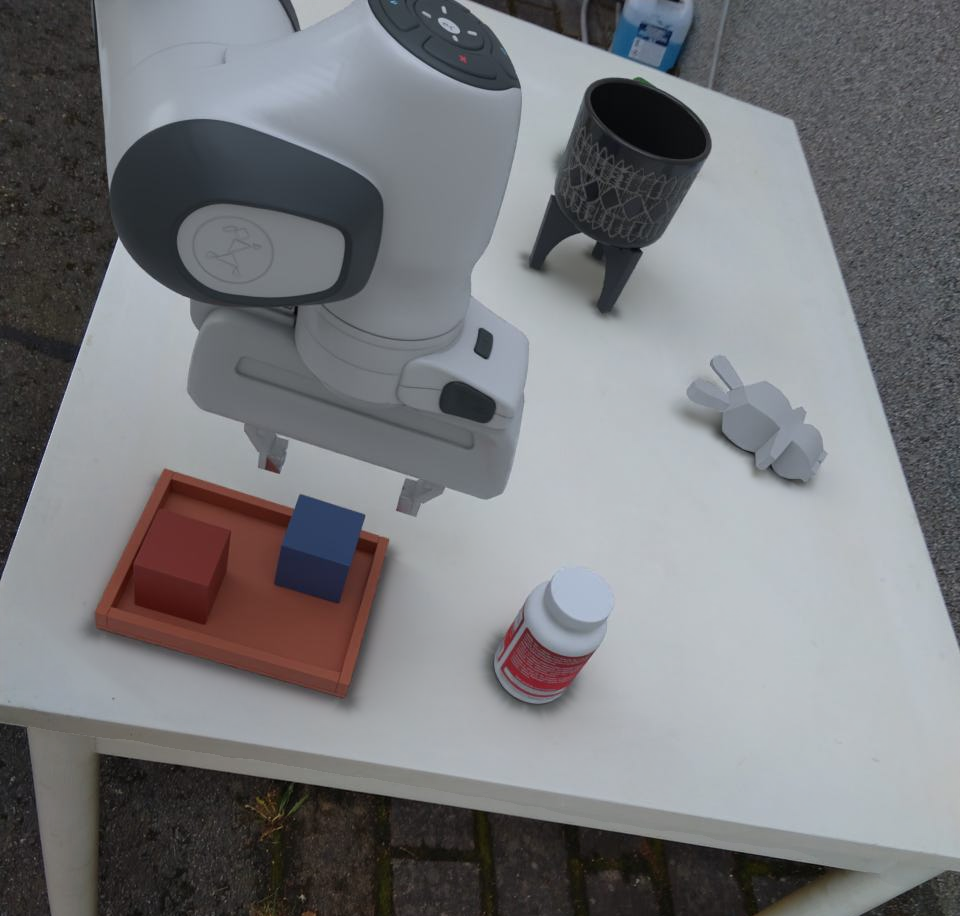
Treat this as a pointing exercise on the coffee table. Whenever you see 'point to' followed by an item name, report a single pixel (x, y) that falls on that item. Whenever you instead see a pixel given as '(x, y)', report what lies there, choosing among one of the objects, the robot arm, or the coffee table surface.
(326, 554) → the blue block
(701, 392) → the bunny figurine
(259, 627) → the red tray
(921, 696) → the coffee table surface
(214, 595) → the red block
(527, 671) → the pill bottle
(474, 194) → the robot arm
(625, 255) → the planter
